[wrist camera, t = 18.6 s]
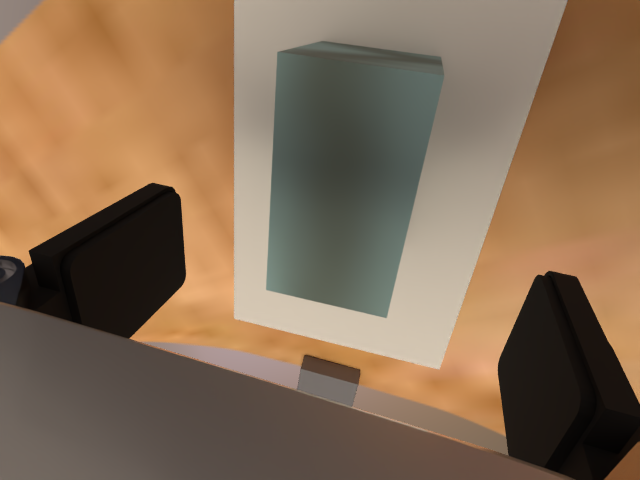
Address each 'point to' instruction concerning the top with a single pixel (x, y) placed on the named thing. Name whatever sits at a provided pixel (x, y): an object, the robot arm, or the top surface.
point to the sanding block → (346, 169)
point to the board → (439, 164)
